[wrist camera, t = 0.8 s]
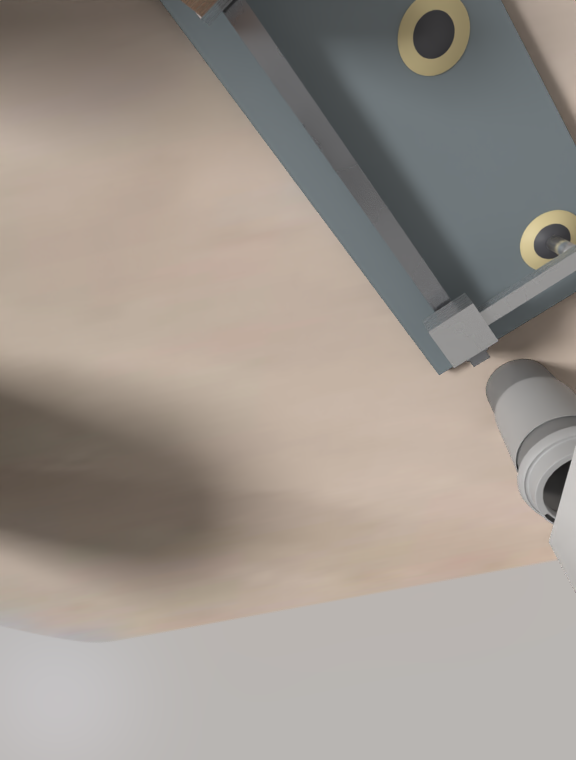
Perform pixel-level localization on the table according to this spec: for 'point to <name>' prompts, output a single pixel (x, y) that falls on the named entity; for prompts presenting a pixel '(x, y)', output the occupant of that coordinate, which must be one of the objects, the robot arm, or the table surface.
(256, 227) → the table surface
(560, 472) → the cup
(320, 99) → the gauge board
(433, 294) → the rail
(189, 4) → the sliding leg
